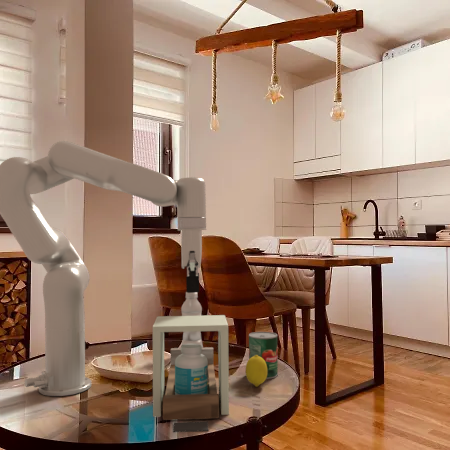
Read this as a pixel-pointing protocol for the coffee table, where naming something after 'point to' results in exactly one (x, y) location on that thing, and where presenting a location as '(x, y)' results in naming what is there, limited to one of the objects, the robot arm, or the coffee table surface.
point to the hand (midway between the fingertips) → (193, 290)
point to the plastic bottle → (191, 309)
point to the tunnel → (188, 325)
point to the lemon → (256, 370)
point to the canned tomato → (265, 350)
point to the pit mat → (190, 426)
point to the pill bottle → (191, 371)
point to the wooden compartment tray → (191, 403)
